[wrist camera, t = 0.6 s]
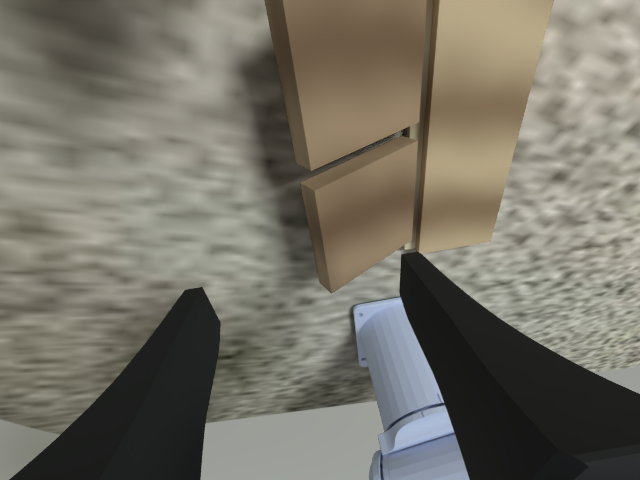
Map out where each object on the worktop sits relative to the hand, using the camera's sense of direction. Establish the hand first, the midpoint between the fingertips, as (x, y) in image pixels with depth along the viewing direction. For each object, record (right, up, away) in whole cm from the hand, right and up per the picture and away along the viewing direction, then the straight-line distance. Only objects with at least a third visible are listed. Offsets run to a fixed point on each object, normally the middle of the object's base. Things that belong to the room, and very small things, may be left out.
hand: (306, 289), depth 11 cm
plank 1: (+2, +10, +2) cm, 10 cm away
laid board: (+9, +9, +6) cm, 14 cm away
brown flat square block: (+3, +3, +7) cm, 8 cm away
